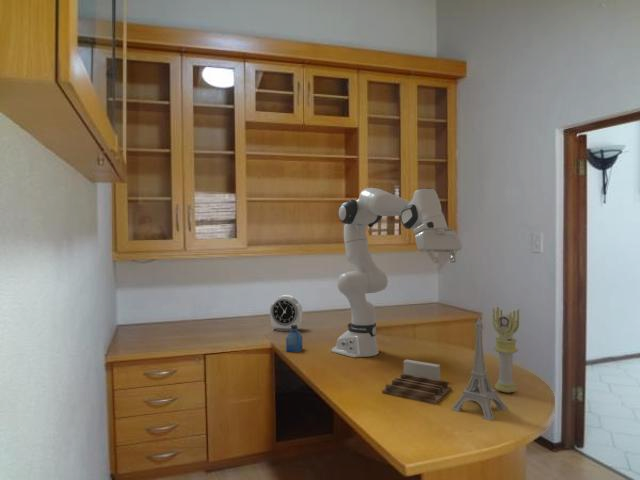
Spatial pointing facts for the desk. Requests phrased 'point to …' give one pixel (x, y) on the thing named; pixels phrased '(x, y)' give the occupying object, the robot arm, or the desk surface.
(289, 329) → the alarm clock
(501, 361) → the trophy
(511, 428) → the desk surface
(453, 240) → the robot arm
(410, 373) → the gray rectangular block
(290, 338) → the perfume bottle
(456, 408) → the eiffel tower
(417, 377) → the rack
